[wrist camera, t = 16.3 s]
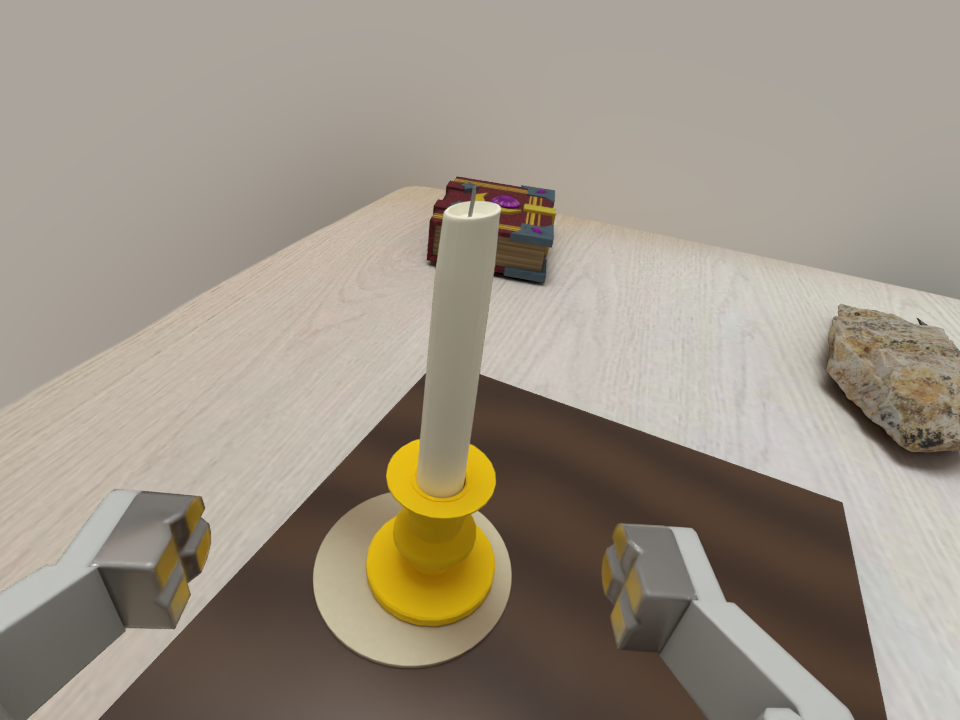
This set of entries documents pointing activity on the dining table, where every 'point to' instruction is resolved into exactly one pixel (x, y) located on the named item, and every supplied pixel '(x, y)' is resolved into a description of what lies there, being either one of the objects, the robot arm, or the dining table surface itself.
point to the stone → (899, 376)
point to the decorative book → (506, 224)
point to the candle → (444, 445)
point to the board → (513, 586)
